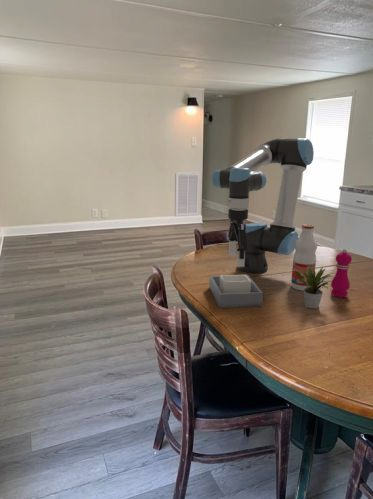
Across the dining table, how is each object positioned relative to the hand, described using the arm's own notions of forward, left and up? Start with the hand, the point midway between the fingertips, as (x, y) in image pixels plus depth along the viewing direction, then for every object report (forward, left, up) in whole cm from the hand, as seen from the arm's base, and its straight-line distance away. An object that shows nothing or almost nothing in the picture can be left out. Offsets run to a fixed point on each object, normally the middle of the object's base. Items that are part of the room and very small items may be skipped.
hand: (236, 261), depth 150 cm
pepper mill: (-44, +3, -15) cm, 47 cm away
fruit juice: (-32, -7, -15) cm, 36 cm away
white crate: (0, 0, -14) cm, 14 cm away
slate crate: (0, 0, -15) cm, 15 cm away
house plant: (-27, +14, -15) cm, 34 cm away
